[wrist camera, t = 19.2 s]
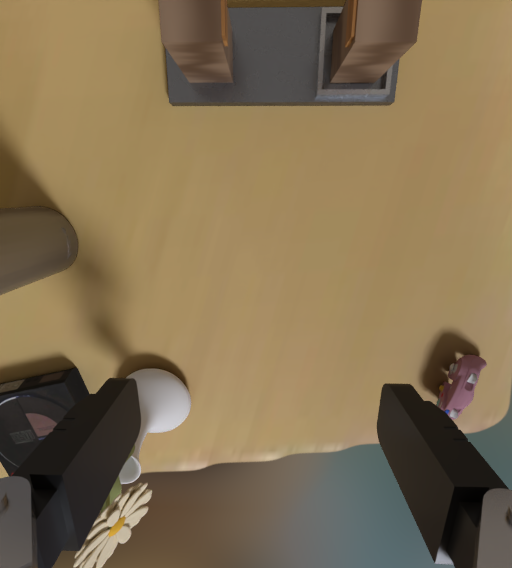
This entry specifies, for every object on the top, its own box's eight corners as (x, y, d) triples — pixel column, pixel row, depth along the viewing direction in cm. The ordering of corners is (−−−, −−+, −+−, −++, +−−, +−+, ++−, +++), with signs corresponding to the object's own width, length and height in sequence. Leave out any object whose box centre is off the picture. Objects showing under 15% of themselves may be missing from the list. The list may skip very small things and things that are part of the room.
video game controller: (452, 344, 47) (457, 361, 41) (486, 356, 45) (497, 376, 39) (427, 396, 50) (429, 420, 44) (458, 410, 48) (465, 436, 42)
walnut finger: (327, 83, 35) (351, 42, 25) (330, 30, 33) (357, -35, 24) (374, 83, 35) (416, 41, 25) (379, 30, 33) (426, -36, 24)
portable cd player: (77, 364, 49) (62, 378, 45) (117, 448, 53) (105, 467, 49) (-15, 383, 50) (-38, 399, 46) (31, 463, 55) (14, 484, 51)
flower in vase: (167, 434, 52) (84, 645, 28) (109, 397, 50) (-34, 589, 26) (213, 383, 48) (164, 570, 24) (153, 341, 46) (37, 501, 23)
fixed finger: (189, 82, 35) (161, 41, 25) (186, 30, 34) (156, -34, 24) (235, 82, 35) (225, 41, 25) (234, 29, 33) (223, -35, 24)
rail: (172, 106, 37) (166, 100, 35) (166, 16, 34) (159, 3, 32) (389, 105, 36) (397, 99, 34) (399, 14, 34) (410, 0, 31)
